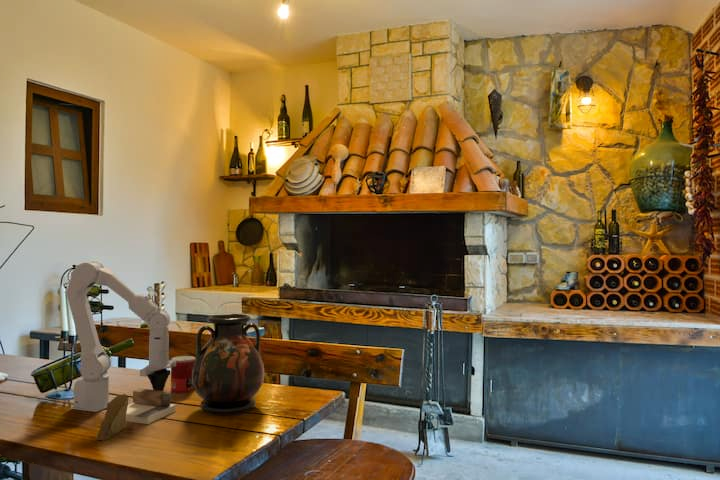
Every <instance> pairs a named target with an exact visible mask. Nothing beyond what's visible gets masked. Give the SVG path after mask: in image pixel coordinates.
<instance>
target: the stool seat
mask: <svg viewBox="0 0 720 480" xmlns="http://www.w3.org/2000/svg"><path fill="white" fill-rule="evenodd" d="M173 413H176V404H173V403H171V405H169V406H156V405H148V404H139V403H133V402H132V403H128V407H127V412H126V422H130V423H138V424H146V425H149V424H151V423H153V422H155V421H158V420H160V419H162V418H164V417H166V416H168V415H171V414H173Z"/></svg>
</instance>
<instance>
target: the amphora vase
mask: <svg viewBox="0 0 720 480" xmlns="http://www.w3.org/2000/svg"><path fill="white" fill-rule="evenodd" d="M206 320H207V322H208V323H210V324H212V325H213V328H212V327H211V326H210V325H209V326H208V325H203V326H202V327H200V328H199V330H198V331H197V335H196V341H195V343H196V345H195V350H196V351H195V363H194V365H193V370H192V385H193V388H194V391H195V393H196V394H197V396H199V398H201V400H202V401H201V402H200V404H199V407H200V409H201V410H202V411H203V412H204V413H207V414H209V415H213V416H233V415H240V414H243V413H247V412H249V411H251V410H252V409H254V407H255V405H256V404H257V402H256V399H255V396H256V395H257V394H258V392H259V391H260V389H261V387H262V386H263V385H264V384H263V383H264V380H265V366H264V361H263V360H262V356H261V334H260V332H261V331H260V328H259V327H258V325H257V324H256V323H248V322H250V321H251V320H252V319H251V317H250V315H247V314H243V313H242V314H241V313H224V314H223V313H221V314H214V315H210V316H208V317H207V319H206ZM246 323H248V324H247V325H245V324H246ZM251 328H252V329H254V333H255V341H254V342H255V344H254V343H253V342H252V341H251V340H250V339H249V338H248V336H247V335H248V334H247V333H248V330H249V329H251ZM204 331H209V332H210V339H209V340H208V341H207V342H206V343H205V344H204V346H203V347H202V346H201V345H202V343H201V342H202V341H201V340H202V335H203V332H204Z"/></svg>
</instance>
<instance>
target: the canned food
mask: <svg viewBox="0 0 720 480" xmlns="http://www.w3.org/2000/svg"><path fill="white" fill-rule="evenodd" d="M170 360H176V366H175V367H171V368H170V391H171V392H172V393H173V394H187V393H192V392H194V391H195V390H194V388H193V385H192V370H193V365H194V363H195V361H196V356H192V355H191V356H190V355H178V356H174V357H171V359H170Z"/></svg>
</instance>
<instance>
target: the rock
mask: <svg viewBox="0 0 720 480" xmlns="http://www.w3.org/2000/svg"><path fill="white" fill-rule="evenodd" d="M128 405H129V397H128V395H127V394H125V393H122V394H118V395H116V396H115V397H114V398H113V399H111V401H110V402H109V403H108V404H107V408H106V412H105V414H104V418H103V420H102V421H101V423H100V427H99V431H98V433H97V436H96V438H95V440H97V441H99V440H100V441H106V440H107V439H109V438H111V437H113V436H114V435H117V434H118V433H120V432H121V431H123V430H124V429H125V428H126V423H127V421H126V412H127V407H128Z"/></svg>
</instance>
